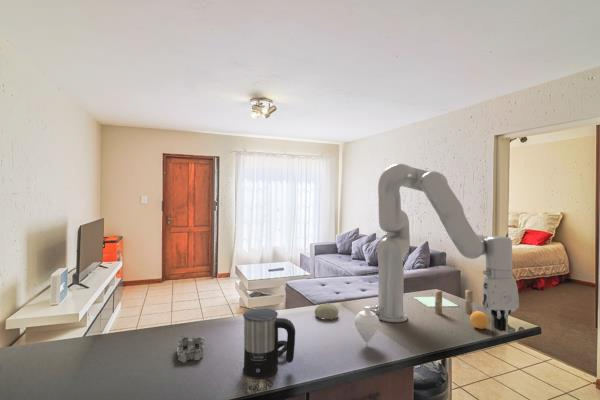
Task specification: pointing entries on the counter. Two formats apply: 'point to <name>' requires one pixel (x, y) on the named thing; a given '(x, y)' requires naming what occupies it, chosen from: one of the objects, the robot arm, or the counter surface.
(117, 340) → the counter surface
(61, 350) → the counter surface
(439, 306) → the left post
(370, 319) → the spinning top
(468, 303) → the right post
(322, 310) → the sea urchin shell
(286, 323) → the milk frother
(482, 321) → the ball
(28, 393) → the counter surface
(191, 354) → the egg carton
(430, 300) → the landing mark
